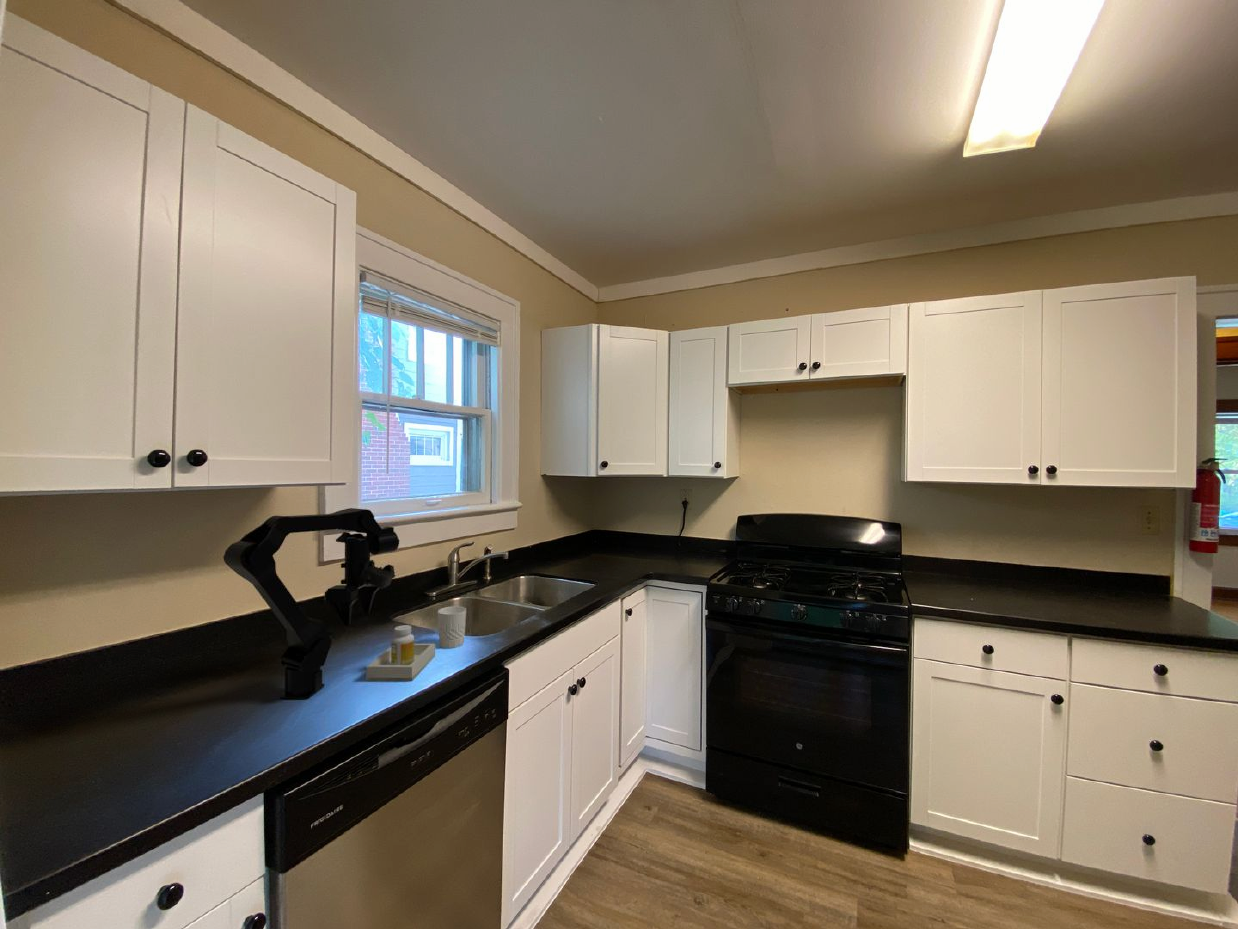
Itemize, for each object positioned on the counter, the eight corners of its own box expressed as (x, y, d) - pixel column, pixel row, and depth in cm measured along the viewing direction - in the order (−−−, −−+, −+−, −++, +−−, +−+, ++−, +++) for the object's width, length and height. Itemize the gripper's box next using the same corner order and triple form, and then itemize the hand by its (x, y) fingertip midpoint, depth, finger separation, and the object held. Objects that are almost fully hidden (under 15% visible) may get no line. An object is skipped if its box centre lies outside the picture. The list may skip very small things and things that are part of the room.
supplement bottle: (417, 660, 128) (417, 624, 128) (409, 669, 123) (409, 631, 122) (396, 661, 128) (396, 624, 128) (387, 669, 122) (387, 631, 122)
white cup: (454, 651, 137) (454, 615, 137) (431, 647, 139) (431, 612, 139) (471, 641, 144) (471, 607, 144) (449, 638, 147) (449, 605, 147)
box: (366, 681, 118) (366, 666, 118) (394, 656, 133) (394, 643, 133) (411, 681, 118) (412, 666, 118) (435, 656, 133) (435, 643, 133)
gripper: (370, 566, 114) (370, 632, 114) (405, 551, 133) (405, 608, 133) (323, 565, 114) (322, 632, 114) (364, 551, 133) (364, 608, 133)
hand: (357, 619), depth 124 cm, fingers open, 9 cm apart
